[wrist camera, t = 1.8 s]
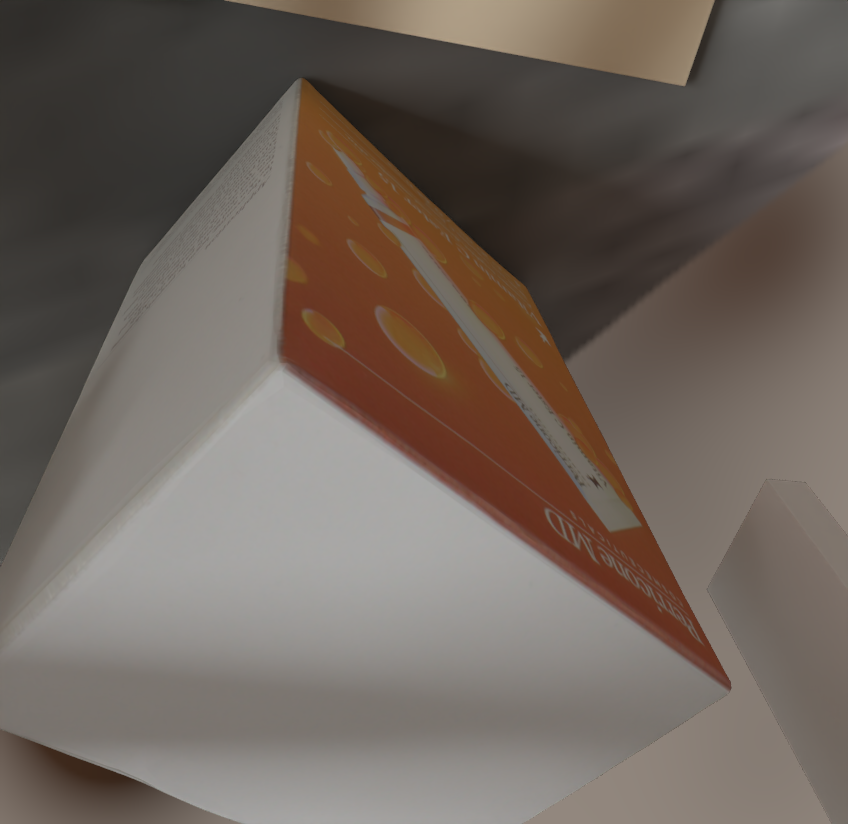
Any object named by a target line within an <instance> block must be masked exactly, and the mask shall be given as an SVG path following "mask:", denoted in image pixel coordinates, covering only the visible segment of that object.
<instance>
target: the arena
mask: <svg viewBox="0 0 848 824" xmlns="http://www.w3.org/2000/svg"><path fill="white" fill-rule="evenodd" d="M226 1H231V2H237V3H242V4H248V5H253V6H258V7H264V8H269V9H274V10H280V11H285V12H290V13H296V14H301V15H306V16H312V17H317V18H322V19H328V20H333V21H338V22H344V23H349V24H355V25H360V26H365V27H371V28H376V29H381V30H387V31H392V32H397V33H403V34H408V35H413V36H419V37H424V38H429V39H435V40H440V41H445V42H451V43H456V44H462V45H467V46H472V47H478V48H483V49H488V50H494V51H499V52H504V53H510V54H515V55H520V56H526V57H531V58H536V59H542V60H547V61H552V62H558V63H563V64H569V65H574V66H579V67H585V68H590V69H595V70H601V71H606V72H611V73H617V74H622V75H627V76H633V77H638V78H643V79H649V80H654V81H659V82H665V83H670V84H676V85H681V86H685V84H686V82H687V79H688V76H689V73H690V70H691V67H692V64H693V61H694V59H695V56H696V53H697V50H698V47H699V44H700V41H701V38H702V36H703V33H704V30H705V27H706V24H707V21H708V18H709V15H710V13H711V10H712V7H713V4H714V1H715V0H226Z"/></svg>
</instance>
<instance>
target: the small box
mask: <svg viewBox="0 0 848 824" xmlns="http://www.w3.org/2000/svg"><path fill="white" fill-rule="evenodd" d="M730 690H731V682H730V680H729V678H728V677H727V675H726V673H725V671H724V669H723V668H722V666H721V664H720V662H719V660H718V658H717V656H716V654H715V652H714V651H713V649H712V647H711V645H710V643H709V641H708V639H707V638H706V636H705V634H704V632H703V630H702V628H701V627H700V624H699V623H698V621H697V619H696V617H695V615H694V613H693V611H692V610H691V608H690V606H689V604H688V602H687V600H686V599H685V597H684V595H683V593H682V591H681V589H680V587H679V585H678V583H677V581H676V579H675V577H674V575H673V573H672V571H671V569H670V567H669V565H668V563H667V561H666V559H665V557H664V555H663V554H662V552H661V550H660V548H659V546H658V544H657V542H656V540H655V538H654V536H653V534H652V532H651V530H650V528H649V526H648V524H647V522H646V520H645V518H644V516H643V515H642V512H641V510H640V509H639V507H638V505H637V503H636V501H635V499H634V497H633V495H632V493H631V491H630V489H629V487H628V485H627V484H626V481H625V479H624V478H623V475H622V473H621V471H620V470H619V468H618V466H617V464H616V462H615V460H614V458H613V456H612V454H611V452H610V450H609V447H608V446H607V443H606V441H605V439H604V438H603V436H602V434H601V432H600V430H599V428H598V426H597V424H596V422H595V420H594V418H593V417H592V415H591V413H590V411H589V409H588V407H587V405H586V403H585V401H584V399H583V397H582V395H581V394H580V392H579V390H578V388H577V386H576V384H575V382H574V380H573V378H572V376H571V374H570V372H569V370H568V369H567V367H566V365H565V363H564V361H563V359H562V357H561V355H560V353H559V351H558V349H557V347H556V344H555V342H554V340H553V338H552V336H551V334H550V332H549V330H548V328H547V326H546V324H545V322H544V320H543V318H542V316H541V314H540V312H539V310H538V308H537V307H536V305H535V303H534V301H533V299H532V297H531V296H530V294H529V292H528V290H527V288H526V287H525V286H524V285H523V284H522V283H521V282H520V281H519V280H517V279H516V278H515V277H514V276H513V275H512V274H510V273H509V272H508V271H507V270H506V269H504V268H503V267H502V266H501V265H500V264H499V263H498V262H496V261H495V260H494V259H493V258H492V257H491V256H490V255H489V254H487V253H486V252H485V251H484V250H483V249H482V248H481V247H480V246H479V245H477V244H476V243H475V242H474V241H473V240H472V239H471V238H470V237H469V236H468V235H467V234H466V233H465V232H464V231H462V230H461V229H460V228H459V227H458V226H457V225H456V224H455V223H454V222H453V221H452V220H451V219H450V218H449V217H448V216H447V215H446V214H445V213H444V212H442V211H441V210H440V209H439V208H438V207H437V206H436V205H435V204H434V203H433V202H431V201H430V200H429V199H428V198H427V197H426V196H425V195H424V194H423V193H422V192H421V191H420V190H419V189H418V188H417V187H416V186H415V185H414V184H413V183H411V182H410V181H409V180H408V179H407V178H406V177H405V176H404V175H403V174H402V173H401V172H400V171H399V170H398V169H397V168H396V167H395V166H394V165H393V164H392V163H391V162H390V161H389V160H388V159H387V158H386V157H385V156H384V155H383V154H382V153H380V152H379V151H378V150H377V149H376V148H375V147H374V146H373V145H372V144H371V143H370V142H369V141H368V140H367V139H366V138H365V137H364V136H363V135H362V134H361V133H360V132H359V131H358V130H357V129H356V128H355V127H354V126H353V125H352V124H351V123H350V122H348V121H347V120H346V119H345V118H344V117H343V116H342V115H341V114H340V113H339V112H338V111H337V110H336V109H335V108H334V107H333V106H332V105H331V104H330V103H329V102H328V101H327V100H326V99H325V98H324V97H323V96H322V95H321V94H320V93H319V92H318V91H317V90H316V89H315V88H314V87H313V86H312V85H311V84H310V83H309V82H308V81H307V80H305V79H304V78H299V79H297V80H296V81H295V82H294V83H293V84H292V85H291V87H290V88H289V89H288V90H287V91H286V92H285V94H284V95H283V96H282V97H281V98H280V100H279V101H278V102H277V103H276V104H275V106H274V107H273V108H272V109H271V110H270V112H269V113H268V114H267V115H266V116H265V117H264V119H263V120H262V121H261V122H260V123H259V125H258V126H257V127H256V128H255V129H254V131H253V132H252V133H251V134H250V135H249V136H248V138H247V139H246V140H245V141H244V142H243V144H242V145H241V146H240V147H239V148H238V150H237V151H236V152H235V153H234V154H233V155H232V157H231V158H230V159H229V160H228V161H227V163H226V164H225V165H224V166H223V167H222V168H221V170H220V171H219V172H218V173H217V174H216V176H215V177H214V178H213V179H212V180H211V181H210V183H209V184H208V185H207V186H206V187H205V188H204V190H203V191H202V192H201V193H200V194H199V196H198V197H197V198H196V199H195V200H194V201H193V203H192V204H191V205H190V206H189V207H188V209H187V210H186V211H185V212H184V213H183V215H182V216H181V217H180V218H179V219H178V220H177V222H176V223H175V224H174V225H173V226H172V228H171V229H170V230H169V231H168V232H167V233H166V235H165V236H164V237H163V238H162V239H161V241H160V242H159V243H158V244H157V245H156V246H155V248H154V249H153V250H152V251H151V252H150V254H149V255H148V256H147V257H146V258H145V259H144V261H143V262H142V264H141V266H140V267H139V269H138V271H137V273H136V275H135V277H134V279H133V281H132V283H131V285H130V288H129V290H128V292H127V294H126V296H125V298H124V301H123V303H122V305H121V307H120V309H119V311H118V313H117V315H116V318H115V320H114V322H113V324H112V326H111V328H110V330H109V332H108V335H107V337H106V339H105V341H104V343H103V345H102V348H101V350H100V352H99V355H98V357H97V359H96V361H95V363H94V365H93V368H92V370H91V372H90V374H89V376H88V378H87V381H86V383H85V385H84V387H83V390H82V392H81V394H80V397H79V399H78V401H77V403H76V405H75V408H74V410H73V412H72V414H71V416H70V418H69V420H68V422H67V425H66V427H65V429H64V431H63V433H62V435H61V438H60V440H59V442H58V444H57V446H56V448H55V450H54V453H53V455H52V457H51V459H50V461H49V463H48V465H47V468H46V470H45V472H44V474H43V476H42V478H41V481H40V483H39V485H38V487H37V489H36V491H35V493H34V496H33V498H32V500H31V502H30V504H29V507H28V509H27V511H26V513H25V515H24V517H23V520H22V522H21V524H20V526H19V528H18V530H17V533H16V535H15V537H14V539H13V541H12V544H11V546H10V548H9V550H8V552H7V554H6V557H5V559H4V561H3V563H2V565H1V567H0V729H1V730H4V731H7V732H9V733H12V734H15V735H18V736H20V737H23V738H26V739H29V740H32V741H34V742H37V743H39V744H42V745H45V746H47V747H50V748H52V749H55V750H58V751H61V752H63V753H66V754H68V755H71V756H73V757H76V758H79V759H82V760H85V761H87V762H90V763H93V764H96V765H99V766H101V767H104V768H107V769H109V770H112V771H115V772H118V773H120V774H123V775H126V776H128V777H131V778H133V779H136V780H138V781H140V782H143V783H145V784H147V785H150V786H152V787H154V788H156V789H158V790H160V791H162V792H164V793H167V794H169V795H171V796H173V797H176V798H178V799H180V800H182V801H185V802H187V803H189V804H191V805H194V806H196V807H198V808H201V809H203V810H205V811H208V812H211V813H214V814H217V815H219V816H222V817H225V818H228V819H230V820H233V821H236V822H239V823H242V824H523V823H525V822H527V821H528V820H530V819H531V818H533V817H534V816H536V815H538V814H539V813H541V812H543V811H544V810H546V809H547V808H549V807H551V806H552V805H554V804H556V803H557V802H559V801H561V800H562V799H564V798H565V797H567V796H569V795H570V794H572V793H574V792H575V791H577V790H578V789H580V788H581V787H583V786H585V785H586V784H588V783H589V782H591V781H593V780H594V779H596V778H598V777H599V776H601V775H603V774H604V773H605V772H607V771H608V770H610V769H611V768H613V767H614V766H616V765H618V764H619V763H621V762H623V761H624V760H626V759H627V758H629V757H631V756H632V755H634V754H635V753H637V752H639V751H640V750H642V749H644V748H645V747H647V746H649V745H650V744H652V743H653V742H655V741H656V740H658V739H659V738H661V737H662V736H663V735H665V734H667V733H668V732H670V731H672V730H673V729H675V728H676V727H678V726H679V725H681V724H683V723H684V722H686V721H687V720H689V719H690V718H692V717H693V716H694V715H696V714H697V713H699V712H700V711H702V710H703V709H705V708H706V707H708V706H710V705H711V704H713V703H715V702H716V701H718V700H720V699H721V698H723V697H724V696H726V695H727V694H728V693H729V692H730Z"/></svg>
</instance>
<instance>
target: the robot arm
mask: <svg viewBox="0 0 848 824" xmlns="http://www.w3.org/2000/svg"><path fill="white" fill-rule="evenodd" d="M707 591H708V593H709V594H710V596H711V598H712V600H713V602H714V604H715V606H716V607H717V609H718V611H719V613H720V615H721V617H722V619H723V621H724V622H725V624H726V626H727V628H728V630H729V632H730V634H731V636H732V638H733V640H734V641H735V643H736V645H737V647H738V649H739V650H740V653H741V654H742V656H743V658H744V660H745V662H746V664H747V666H748V668H749V670H750V671H751V673H752V675H753V677H754V679H755V681H756V682H757V685H758V686H759V688H760V690H761V692H762V694H763V696H764V698H765V700H766V701H767V703H768V705H769V707H770V709H771V711H772V713H773V714H774V716H775V718H776V720H777V722H778V724H779V726H780V728H781V730H782V732H783V733H784V735H785V737H786V739H787V741H788V743H789V745H790V746H791V748H792V750H793V752H794V754H795V756H796V758H797V760H798V761H799V763H800V765H801V767H802V769H803V771H804V773H805V775H806V776H807V778H808V780H809V782H810V784H811V786H812V788H813V790H814V792H815V794H816V795H817V797H818V799H819V801H820V803H821V805H822V807H823V809H824V810H825V812H826V814H827V816H828V818H829V820H830V822H831V823H832V824H848V536H847V534H846V533H845V532H844V530H843V529H842V528H841V527H840V525H839V524H838V523H837V522H836V520H835V519H834V518H833V517H832V515H831V514H830V513H829V512H828V510H827V509H826V508H825V506H824V505H823V504H822V503H821V501H820V500H819V499H818V498H817V496H816V495H815V494H814V493H813V491H812V490H811V489H810V488H809V486H808V485H807V484H806V483H805V482H796V481H785V480H773V479H766V481H765V482H764V484H763V486H762V488H761V490H760V492H759V494H758V495H757V497H756V499H755V501H754V503H753V505H752V507H751V508H750V510H749V512H748V514H747V516H746V518H745V519H744V521H743V523H742V525H741V527H740V529H739V531H738V532H737V534H736V536H735V538H734V540H733V542H732V543H731V545H730V547H729V549H728V551H727V553H726V555H725V556H724V558H723V560H722V562H721V564H720V566H719V567H718V570H717V571H716V573H715V575H714V577H713V579H712V581H711V582H710V584H709V586H708V588H707Z"/></svg>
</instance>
